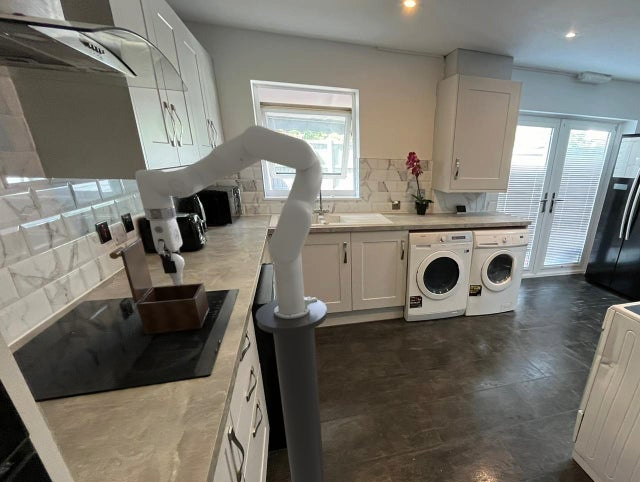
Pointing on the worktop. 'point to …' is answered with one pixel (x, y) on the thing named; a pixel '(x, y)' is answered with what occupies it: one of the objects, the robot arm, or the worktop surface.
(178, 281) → the lightbulb
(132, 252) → the lid
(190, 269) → the worktop surface
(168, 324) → the chest
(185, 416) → the worktop surface
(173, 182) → the robot arm
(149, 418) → the worktop surface
